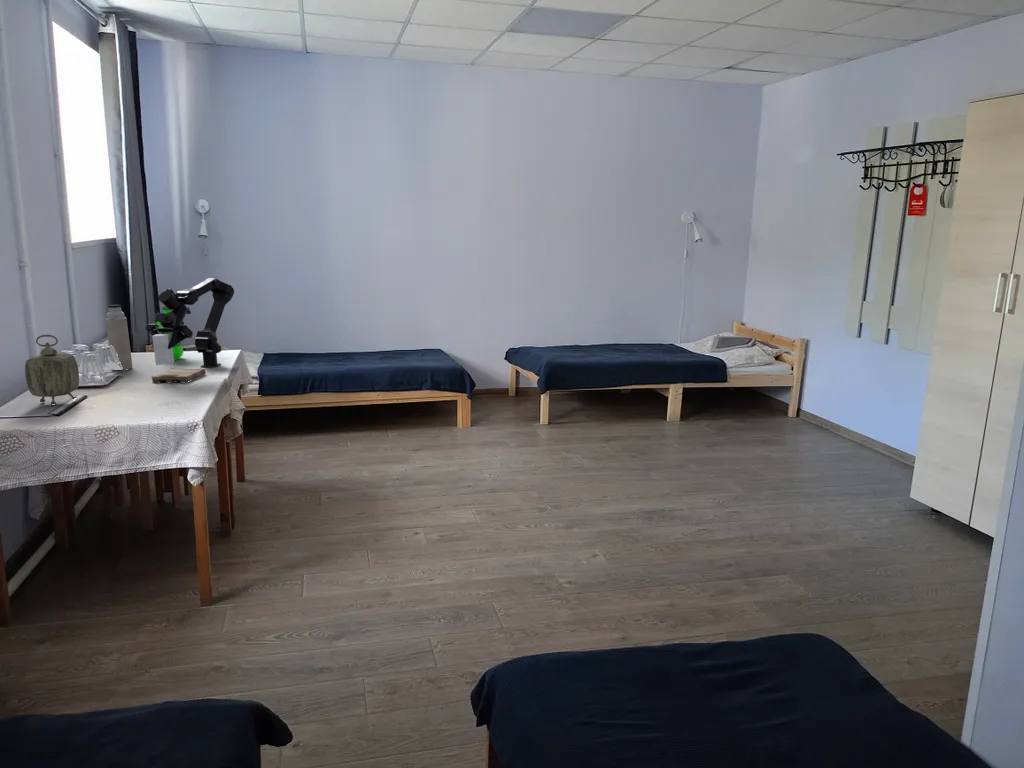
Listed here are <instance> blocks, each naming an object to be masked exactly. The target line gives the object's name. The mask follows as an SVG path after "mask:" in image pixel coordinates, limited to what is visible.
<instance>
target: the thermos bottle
mask: <svg viewBox="0 0 1024 768" xmlns="http://www.w3.org/2000/svg"><path fill="white" fill-rule="evenodd" d="M107 307H108V310H107V311H108V312H107V313H106V318H105V324H106V325H105V326H106V333H107V339H108V340H107V341H108V346H109V345H112V346H114V347H115V349H116V352H117V354H118V358H119V361H120V362H121V365H122V367H123V369H125V370H124V371H127V370H126V369H129V370H131V369H130V368H132V367H134V366H133V360H132V351H131V344H130V343H131V342H130V336H129V328H128V321H127V319H128V318H127V317H126V316H125V312H123V311H122V305H121V304H109V305H107ZM132 369H133V368H132Z"/></svg>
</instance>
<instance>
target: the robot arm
mask: <svg viewBox="0 0 1024 768" xmlns="http://www.w3.org/2000/svg"><path fill="white" fill-rule="evenodd" d="M208 292H211V293H212V299H213V302H212V305H211V308H210V311H209V314H208V317H207V320H206V322H205V325H204V327H203V328H204V329H202V330H197V333H196V336H195V337H194V346H195V348H196V350H197V353H201V354H202V359H203V361H202V362H203V364H202V365H200V368H215V367H218V366H220V365H222V363H221V362H219V363H218V355H217V354H219V353H221V352H222V346H221V345H220V344H219V342H218V337H217V329H218V327H219V324H220V321H221V318H222V317H223V312H224V309H225V307H226V305H228V303H229V302H230V301H231V300H232V298H233V296H234V294H235V289H234V288H233V286H232V285H231V284H228V283H227V282H224V281H221V280H219V279H218V278H215V277H213V278H211V277H208V278H206V279H205V280H203V281H202V282H200V283H198V284H197V285H195V286H192V287H191V288H186V289H182V290H178V291H177V292H176V293H175V292H174V290H172V288H167V289H166V290H165V291H162V292H161V293H160V294H159V295H158V297H157V299H158V301H159V303H161V304H162V306H163V305H164V306H165V307H166V308H167V309H168V310H171V311H170V312H168V314H165V313H164V312H156V313H155V316H154V322H157V321H158V322H160V325H161V326H163V328H161V327H159V326H158V325H157V323H148V324H146V327H145V330H146V331H147V332H148V333H149V334H150V335H151V337H152V336H153V335H155V334H163V333H172V338H171V340H170V342H169V345H168V349H171V348H172V347H174V346H175V345H176V344H178V343H179V342H180V343H181V342H183V341H184V340H186V339H192V337H193V335H194V332H193V330H192V329H191V328H190V327H189V326H188V325H186V324H185V322H184V319H185V316H186V315H192V314H191V313H192V312H191V310H190V307H187V306H193V305H194V304H195V303H197V302H198V301H199V298H200V297H202V296H203V295H205V294H207V293H208ZM151 346H152V348H153V349H154V346H153V343H152V345H151Z"/></svg>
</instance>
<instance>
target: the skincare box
mask: <svg viewBox="0 0 1024 768" xmlns="http://www.w3.org/2000/svg"><path fill="white" fill-rule="evenodd" d="M151 337H152V344H153V346H154V348H153V352H154V354H153V355H154V360H155V365H156V366H163V365H165V366H166V365H167V366H168V365H172V364H174V363H175V360H174V357H173V349H172V348H171V349H168V345H169V342H170V340H171V334H155V335H153V336H152V335H151Z"/></svg>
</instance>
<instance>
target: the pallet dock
mask: <svg viewBox="0 0 1024 768" xmlns="http://www.w3.org/2000/svg"><path fill="white" fill-rule="evenodd" d="M205 374H206V368H187V367H186V368H183V367H182V368H175V367H174V368H169V369H167V370H165V371H163V372H160V373H158V374H155V375H152V377H151V378H152V383H153V382H160V381H162V380H164V381H165V382H174V383H176V382H178V381H179V383H180V382H188V381H190V380H192V381H194V380H196V379H195V378H197V379H199V378H201V377H203V376H205ZM202 375H203V376H202ZM200 376H201V377H200ZM198 377H199V378H198ZM193 379H194V380H193ZM177 380H178V381H177ZM175 381H176V382H175ZM162 382H163V381H162ZM190 382H191V381H190ZM160 383H161V382H160ZM188 383H189V382H188Z"/></svg>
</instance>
